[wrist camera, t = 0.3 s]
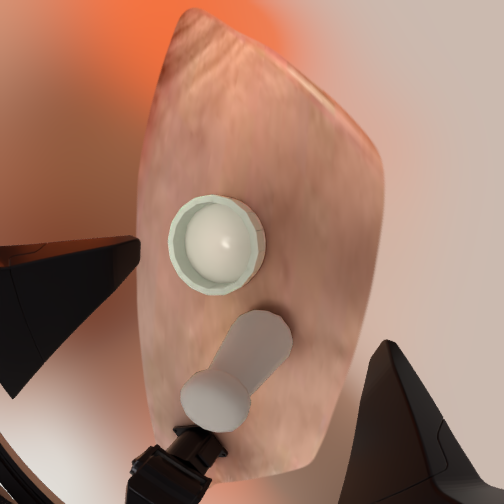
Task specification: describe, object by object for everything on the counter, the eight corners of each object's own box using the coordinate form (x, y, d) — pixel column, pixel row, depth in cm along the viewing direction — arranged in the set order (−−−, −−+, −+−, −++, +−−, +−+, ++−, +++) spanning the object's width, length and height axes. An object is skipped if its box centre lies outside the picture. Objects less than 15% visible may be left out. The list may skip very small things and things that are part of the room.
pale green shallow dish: (207, 301, 27) (195, 308, 25) (169, 225, 28) (155, 226, 25) (283, 264, 24) (276, 269, 22) (237, 179, 24) (226, 175, 22)
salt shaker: (281, 293, 25) (221, 364, 12) (306, 345, 24) (271, 442, 12) (229, 314, 27) (148, 381, 14) (255, 362, 26) (195, 447, 14)
